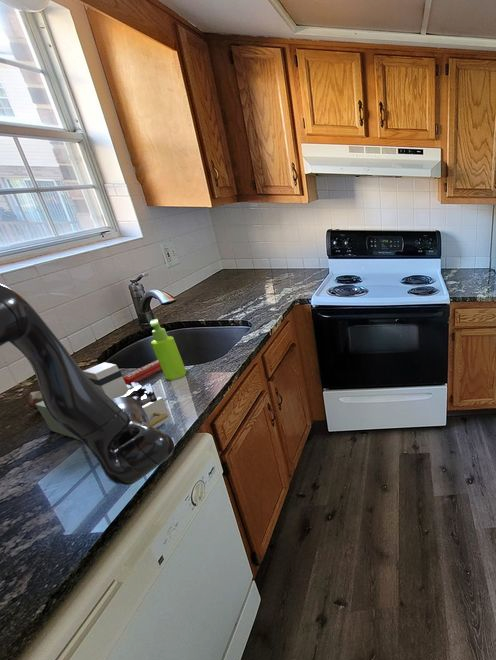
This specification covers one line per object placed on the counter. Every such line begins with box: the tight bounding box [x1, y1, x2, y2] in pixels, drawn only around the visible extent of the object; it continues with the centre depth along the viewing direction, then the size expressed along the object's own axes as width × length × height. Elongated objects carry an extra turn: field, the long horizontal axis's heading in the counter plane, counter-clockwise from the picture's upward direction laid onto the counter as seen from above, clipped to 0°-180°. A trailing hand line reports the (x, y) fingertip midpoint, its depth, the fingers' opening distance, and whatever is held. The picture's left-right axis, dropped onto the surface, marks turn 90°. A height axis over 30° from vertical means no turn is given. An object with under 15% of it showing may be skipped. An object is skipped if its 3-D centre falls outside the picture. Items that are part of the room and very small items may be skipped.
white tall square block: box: [82, 361, 129, 399], centre depth 92 cm, size 5×5×17 cm
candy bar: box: [122, 359, 163, 386], centre depth 122 cm, size 16×4×3 cm, turn 164°
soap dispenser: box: [149, 318, 188, 381], centre depth 117 cm, size 6×7×20 cm
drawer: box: [142, 396, 172, 429], centre depth 94 cm, size 19×12×7 cm, turn 71°
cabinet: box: [35, 384, 133, 441], centre depth 98 cm, size 16×14×9 cm
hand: (112, 392), depth 89 cm, fingers open, 8 cm apart
